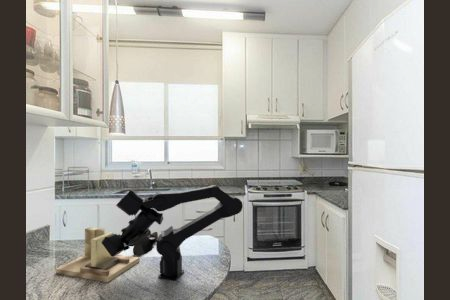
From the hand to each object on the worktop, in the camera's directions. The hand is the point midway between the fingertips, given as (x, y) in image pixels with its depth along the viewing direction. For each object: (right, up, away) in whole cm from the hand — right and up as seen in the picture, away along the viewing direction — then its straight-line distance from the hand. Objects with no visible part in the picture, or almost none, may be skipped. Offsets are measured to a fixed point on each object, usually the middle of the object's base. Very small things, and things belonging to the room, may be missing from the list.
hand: (114, 253), depth 84 cm
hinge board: (-7, -7, +4) cm, 11 cm away
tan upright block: (-4, -5, +3) cm, 7 cm away
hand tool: (+4, -8, +24) cm, 25 cm away
